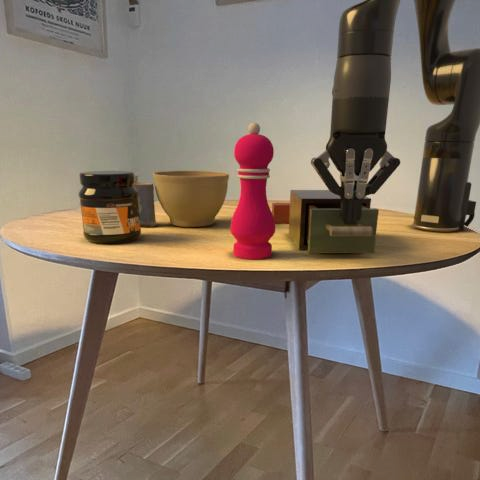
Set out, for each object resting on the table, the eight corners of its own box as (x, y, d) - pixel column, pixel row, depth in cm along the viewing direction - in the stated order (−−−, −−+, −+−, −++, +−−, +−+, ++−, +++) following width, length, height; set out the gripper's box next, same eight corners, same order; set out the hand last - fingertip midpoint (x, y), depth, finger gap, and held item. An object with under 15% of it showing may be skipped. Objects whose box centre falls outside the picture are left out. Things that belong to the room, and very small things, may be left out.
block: (288, 220, 109) (289, 202, 107) (291, 223, 105) (291, 205, 104) (271, 220, 109) (272, 202, 107) (273, 223, 105) (273, 205, 103)
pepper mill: (229, 250, 80) (228, 123, 72) (271, 249, 80) (274, 123, 73) (232, 260, 73) (231, 121, 66) (277, 259, 74) (282, 122, 66)
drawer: (383, 260, 70) (389, 214, 67) (314, 260, 69) (317, 214, 67) (353, 237, 86) (357, 199, 83) (297, 237, 86) (299, 199, 83)
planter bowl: (174, 233, 93) (172, 176, 89) (144, 222, 106) (141, 171, 102) (243, 226, 101) (243, 173, 97) (207, 216, 114) (206, 169, 110)
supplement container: (111, 247, 81) (104, 175, 77) (71, 240, 87) (63, 172, 82) (153, 237, 89) (149, 172, 85) (114, 231, 95) (108, 169, 90)
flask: (158, 225, 101) (155, 174, 97) (149, 228, 99) (145, 175, 95) (125, 222, 105) (121, 172, 101) (116, 224, 103) (111, 173, 99)
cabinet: (366, 249, 80) (371, 198, 77) (299, 250, 80) (301, 198, 77) (346, 234, 93) (350, 189, 90) (288, 234, 93) (290, 189, 90)
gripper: (317, 94, 60) (310, 229, 66) (419, 93, 60) (402, 228, 67) (307, 98, 67) (302, 220, 73) (398, 98, 67) (385, 219, 74)
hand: (349, 223), depth 70 cm, fingers closed
